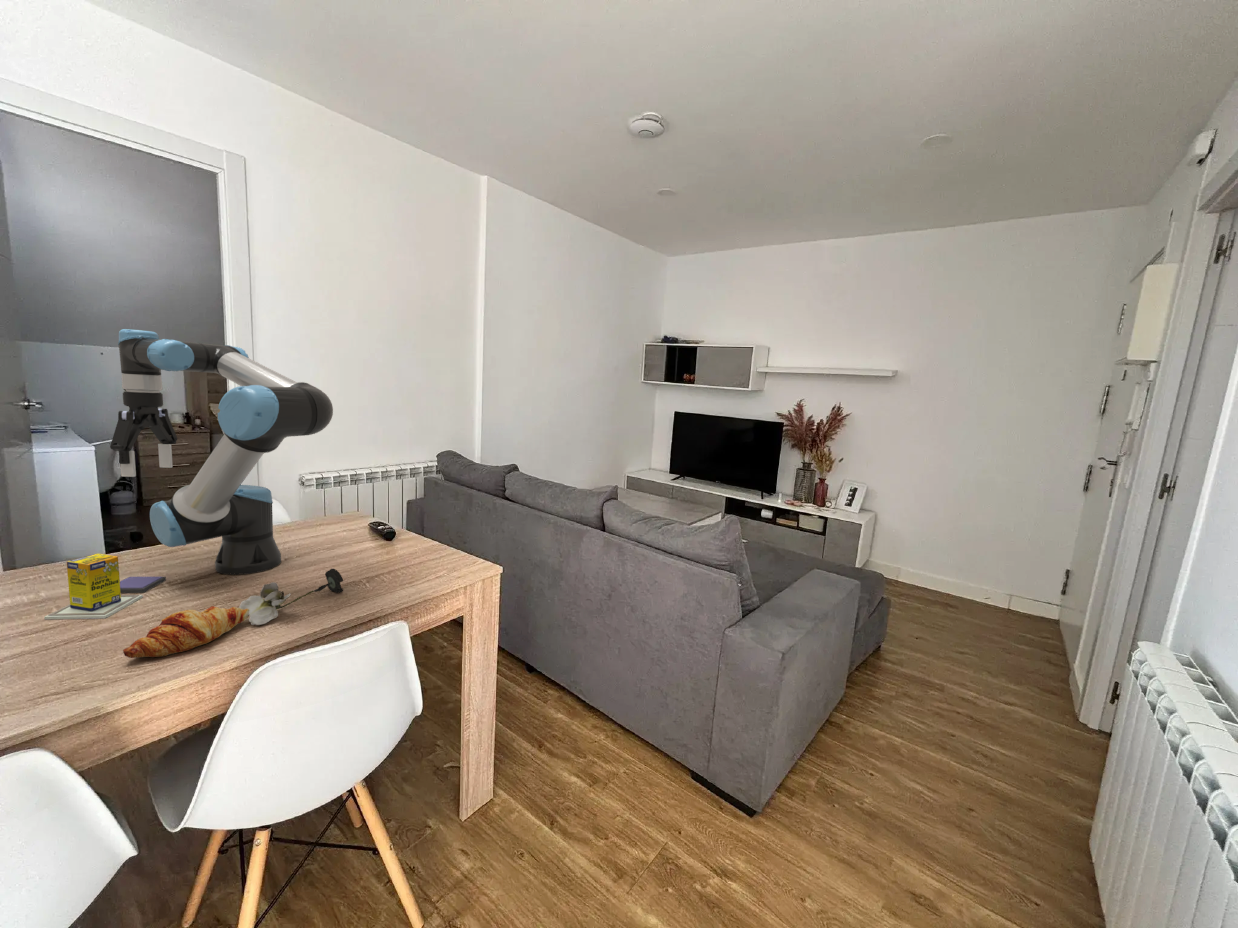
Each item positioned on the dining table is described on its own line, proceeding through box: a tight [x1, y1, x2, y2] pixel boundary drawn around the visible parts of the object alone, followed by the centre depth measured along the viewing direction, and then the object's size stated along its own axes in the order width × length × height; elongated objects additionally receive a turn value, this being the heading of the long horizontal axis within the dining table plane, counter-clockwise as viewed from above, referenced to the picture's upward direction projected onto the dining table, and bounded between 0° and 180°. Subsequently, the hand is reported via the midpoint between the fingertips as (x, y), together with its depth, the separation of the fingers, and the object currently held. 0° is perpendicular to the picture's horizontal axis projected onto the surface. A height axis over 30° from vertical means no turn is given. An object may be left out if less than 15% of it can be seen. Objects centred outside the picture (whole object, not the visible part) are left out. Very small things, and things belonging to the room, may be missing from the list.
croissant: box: [122, 605, 250, 659], centre depth 102 cm, size 21×10×8 cm, turn 156°
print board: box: [44, 594, 144, 620], centre depth 113 cm, size 11×11×1 cm
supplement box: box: [66, 553, 122, 611], centre depth 112 cm, size 6×6×11 cm
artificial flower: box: [238, 568, 345, 626], centre depth 119 cm, size 9×22×10 cm, turn 152°
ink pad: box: [120, 576, 167, 594], centre depth 124 cm, size 8×8×1 cm
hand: (148, 471), depth 132 cm, fingers open, 13 cm apart
